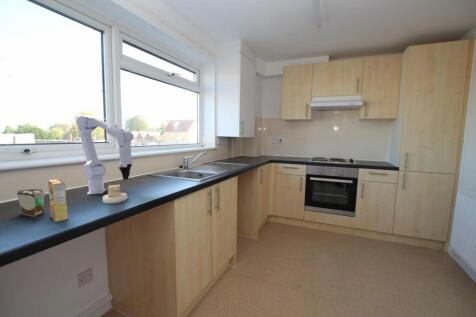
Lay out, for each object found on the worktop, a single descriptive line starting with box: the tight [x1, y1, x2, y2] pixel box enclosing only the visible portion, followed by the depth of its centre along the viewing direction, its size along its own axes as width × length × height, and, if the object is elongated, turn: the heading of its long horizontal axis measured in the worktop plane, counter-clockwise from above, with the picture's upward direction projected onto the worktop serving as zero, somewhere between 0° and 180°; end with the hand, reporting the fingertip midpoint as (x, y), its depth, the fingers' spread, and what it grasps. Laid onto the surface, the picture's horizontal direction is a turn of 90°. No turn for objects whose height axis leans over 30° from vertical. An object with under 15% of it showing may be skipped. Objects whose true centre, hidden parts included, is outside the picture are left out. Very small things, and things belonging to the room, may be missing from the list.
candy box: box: [47, 178, 68, 223], centre depth 91 cm, size 9×4×15 cm, turn 50°
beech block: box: [107, 184, 122, 197], centre depth 115 cm, size 5×5×5 cm
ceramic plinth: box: [102, 192, 128, 205], centre depth 115 cm, size 11×11×2 cm
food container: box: [16, 188, 47, 218], centre depth 96 cm, size 12×6×10 cm, turn 71°
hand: (126, 178), depth 123 cm, fingers open, 7 cm apart
